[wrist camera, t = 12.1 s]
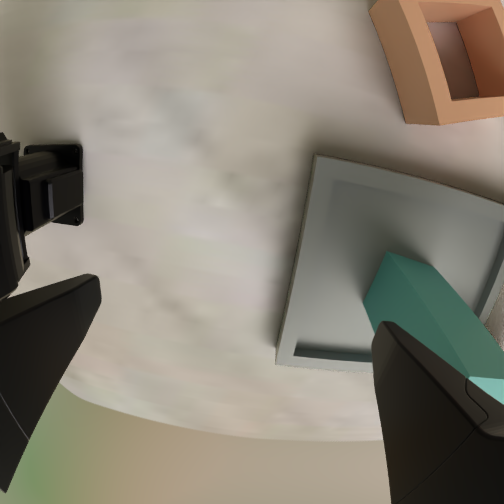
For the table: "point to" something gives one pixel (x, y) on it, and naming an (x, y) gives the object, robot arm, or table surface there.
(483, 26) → the holder
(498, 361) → the teal block
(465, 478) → the robot arm
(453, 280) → the tray
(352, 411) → the table surface
